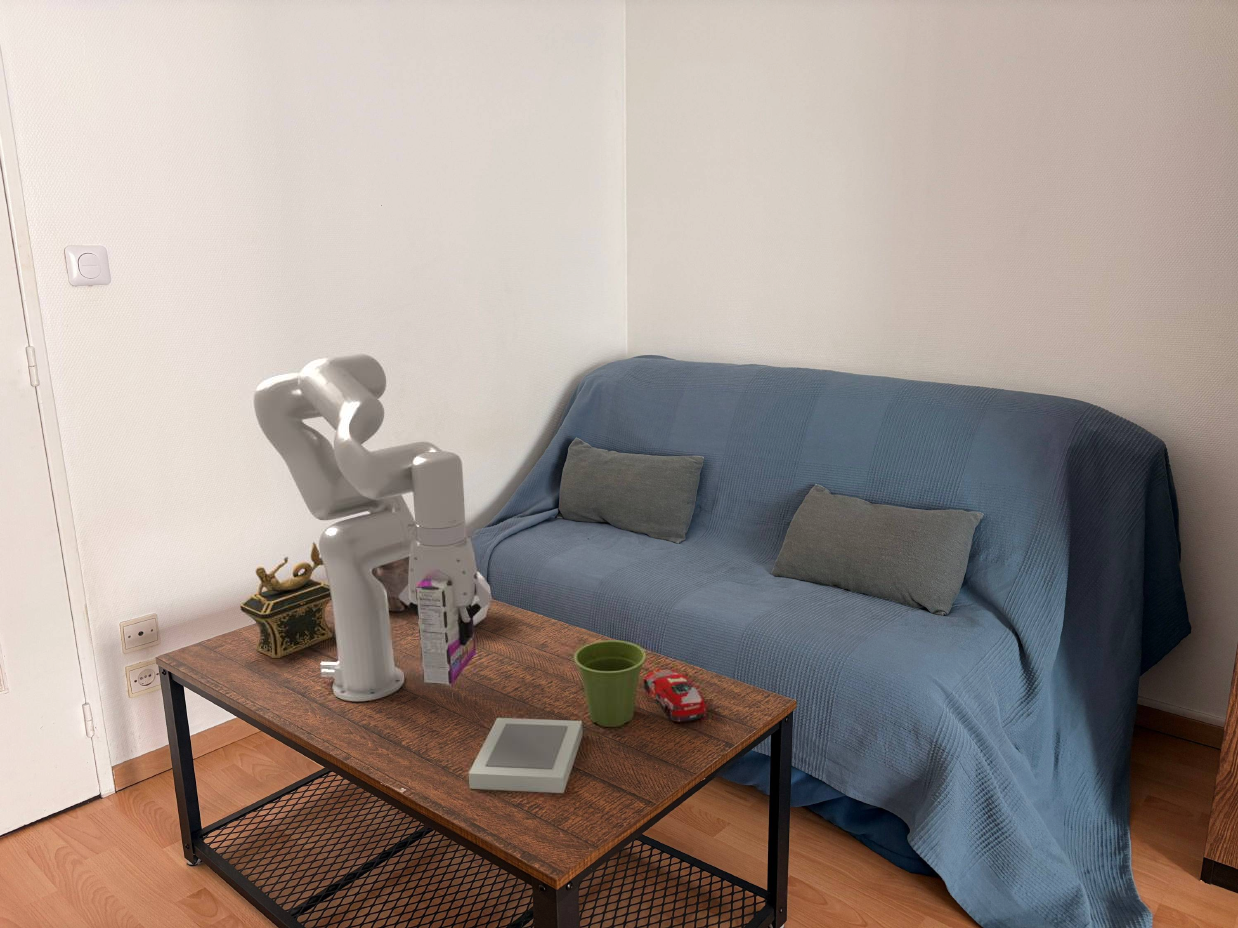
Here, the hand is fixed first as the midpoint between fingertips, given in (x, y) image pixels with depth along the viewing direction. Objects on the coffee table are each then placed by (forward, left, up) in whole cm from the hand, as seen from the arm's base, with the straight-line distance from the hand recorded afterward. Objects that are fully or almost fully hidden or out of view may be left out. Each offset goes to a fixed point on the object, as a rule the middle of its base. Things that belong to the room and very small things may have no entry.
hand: (447, 639), depth 144 cm
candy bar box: (0, 0, -5) cm, 5 cm away
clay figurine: (-29, +52, -17) cm, 62 cm away
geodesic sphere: (-12, +43, -17) cm, 47 cm away
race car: (+35, +14, -17) cm, 41 cm away
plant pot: (+25, +8, -17) cm, 31 cm away
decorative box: (-43, +34, -17) cm, 58 cm away
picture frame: (+14, -6, -17) cm, 23 cm away
